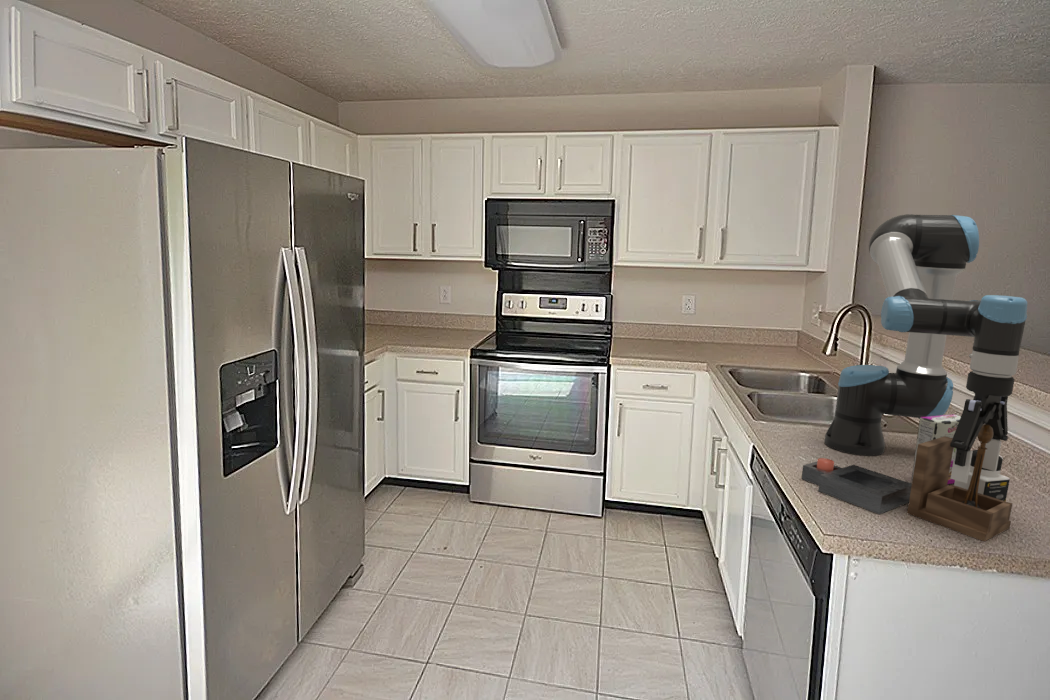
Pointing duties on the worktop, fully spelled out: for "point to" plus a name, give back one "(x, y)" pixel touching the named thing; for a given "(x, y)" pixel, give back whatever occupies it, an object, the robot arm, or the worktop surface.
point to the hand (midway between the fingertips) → (973, 474)
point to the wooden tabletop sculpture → (978, 465)
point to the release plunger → (825, 464)
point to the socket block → (860, 486)
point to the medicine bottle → (988, 480)
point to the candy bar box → (937, 433)
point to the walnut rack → (952, 496)
